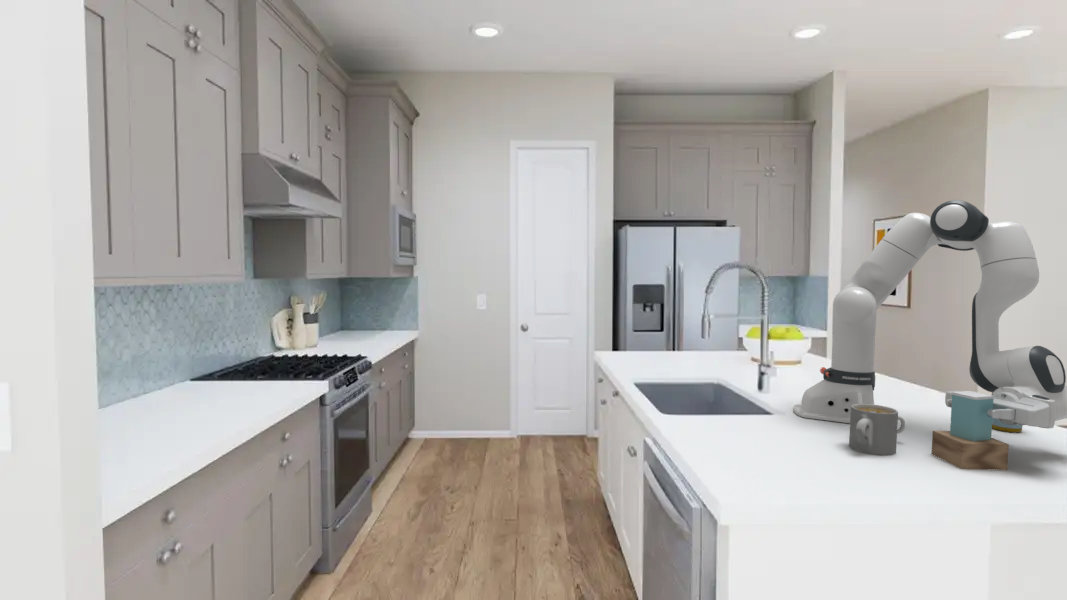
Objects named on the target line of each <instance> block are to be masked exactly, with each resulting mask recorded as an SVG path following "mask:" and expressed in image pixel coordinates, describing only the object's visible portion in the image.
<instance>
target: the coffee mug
mask: <svg viewBox="0 0 1067 600" xmlns="http://www.w3.org/2000/svg"><path fill="white" fill-rule="evenodd" d="M898 416H899V412H898V410H897V409H895V408H893V407H889V406H885V405H879V404H874V405H873V404H854V405H851V415H850V423H849V436H848V437H849V438H848V439H849V440H848V441H849V442H848V446H849V448H851V449H852V450H854V451H857V452H861V453H864V454H869V455H875V456H892V455H895V454H896V453H897V441H898V439H897V437H898V434H897V430H898V421H899V419H898Z"/></svg>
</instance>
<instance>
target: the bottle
mask: <svg viewBox="0 0 1067 600" xmlns="http://www.w3.org/2000/svg"><path fill="white" fill-rule="evenodd" d="M992 393H993V392H991V394H992ZM1023 426H1024V425H1009V424H1005V423H1003V422H1001V421H999V420H998V419H997V418H992V429H993V428H994V430H995V429H996V431H999V430H1000V432H1004V431H1005V433H1013V432H1018V433H1020V432H1021V431H1023Z"/></svg>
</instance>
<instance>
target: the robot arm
mask: <svg viewBox="0 0 1067 600" xmlns="http://www.w3.org/2000/svg"><path fill="white" fill-rule="evenodd" d="M989 220H990V219H989V217H988V216H986V214H985V213H983V212H982V211H981V210H980V209H979V208H977V207H976V206H975V205H974V204H972V203H970V202H968V201H965V200H959V199H958V200H957V199H954V200H948V201H945V202H943V203H941V204H939V205H938V206H936V208H935V209H934V210H933V212H932V213H931V216H929V215H927V214H925V213H921V212H910V213H907V214H905V215H904V216H903V217H902V218H901V219H899V220H898V221H897V222H896V223H895V224H894V225H893V226H892V227H891V228H890V229H889V230H888V231H887V232H886V234H885V235H884V236H883V237H882V239H880V241H879V242H878V243H877V245H876V246H875V247H874V249H873V250H872V251H871V252H870V254H869V255H868V256H867V257H866V258H865V259H864V261H863V262H862V263H861V265H860V266H859V267H858V269H857V270H856V271H855V273H854V274H853V275H852V277H850V279H849V281H848V282H847V283H846V284H845V285H844V287H843V288H842V289H841V290H840V291H839V292H838V293H837V294H836V295H835V297H834V299H833V301H832V330H831V332H832V340H831V345H832V346H831V365H830V367H828V368H826V367H824V366H823V367H821V368H820V369H819V372H820V373H821V374H822V375H823V380H821V381H819V382H817V383H816V384H814V385H812V386H810V387H809V388H807V389H806V390H805V391H804V392H803V395H802V397H801V402H800V404H796V405H795V404H794V406H793V407H792V411H793V412H794V414H795V415H796V416H799V417H800V418H801V417H802V418H806V419H813V420H820V421H821V420H822V421H828V422H837V423H846V424H850V415H851V405H854V404H873V405H875V398H874V391H875V386H876V372H875V371H874V368H875V366H874V364H875V350H876V348H875V347H876V331H877V330H876V327H877V326H876V325H877V311H878V309H879V308H880V307H881V305H882V304H883V303H884V302H885V301H886V300H887V298H889V296H890V295H891V294H892V293H893V292H894V291H895V290H896V289H897V288H898V286H899V285H900V284H901V283H902V282H903V281H904V280H905V278H906V277H907V275H908V274H909V273H910V272H911V271H912V270H913V268H914V267H915V266H916V264H918V263H919V261H920V260H921V258H923V256H924V255H925V253H927V252H928V251H929V250H930V249H931V248H932V247H934V246H936V245H937V246H938V247H941V248H946V249H949V250H950V249H951V250H954V251H963V252H966V251H967V252H968V251H973V250H974V251H976V253H977V257H978V260H979V264H980V265H979V266H980V271H981V280H980V285H979V289H978V291H977V292H976V293H975V294H974V296H973V299H972V303H971V356H970V362H969V368H968V369H969V375H970V378H971V379H972V381H973V382H974V383H975V384H976V385H977V386H978V387H980V388H981V389H983V390H985V391H987V392H989V393H991V395H992V396H994V400H993V409H988V411H987V412H988V414H987V416H988V417H991V418H997V419H998V420H999V421H1001V422H1003V423H1005V424H1009V425H1023V426H1027V427H1036V428H1041V429H1053V428H1055V424H1056V421H1060V420H1063V419H1066V418H1067V385H1066V382H1067V381H1066V379H1067V376H1066V370H1065V367H1064V364H1063V362H1062V360H1061V359H1060V358H1059V357H1058V356H1057V355H1056V354H1055V353H1054V352H1053V351H1052V350H1050V349H1049V348H1047V347H1044V346H1042V345H1035V346H1025V347H1018V348H1014V349H1006V350H1000V348H999V346H1000V341H999V335H1000V333H999V330H1000V329H999V323H1000V318H1001V317H1002V315H1003V313H1005V311H1007V310H1008V309H1009V308H1010V307H1011V306H1013V305H1015V304H1016V303H1017V302H1020V301H1021V300H1023V299H1024V298H1026V297H1028V296H1029V295H1030V294H1031V293H1032V292H1033V291H1035V289H1036V287H1037V286H1038V284H1039V282H1040V270H1039V269H1040V268H1039V264H1038V260H1037V256H1036V252H1035V249H1034V246H1033V244H1032V241H1031V238H1030V236H1029V234H1028V232H1027V230H1026V228H1025V226H1023V225H1022V224H1020V223H1018V222H1014V221H997V222H990V221H989ZM961 391H962V390H947V391H946V392H945V396H944V397H945V398H944V399H945V401H944V403H945V405H946V407H947V408H951V407H952V392H961ZM976 392H977V393H979V392H978V391H976ZM992 392H993V393H992ZM982 394H984V393H983V392H982ZM986 394H987V393H986ZM987 395H989V394H987Z"/></svg>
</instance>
